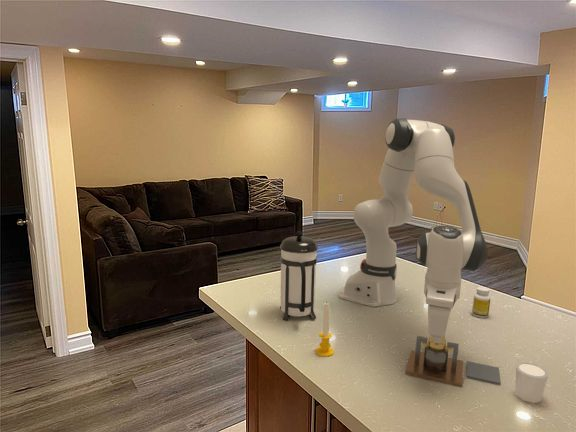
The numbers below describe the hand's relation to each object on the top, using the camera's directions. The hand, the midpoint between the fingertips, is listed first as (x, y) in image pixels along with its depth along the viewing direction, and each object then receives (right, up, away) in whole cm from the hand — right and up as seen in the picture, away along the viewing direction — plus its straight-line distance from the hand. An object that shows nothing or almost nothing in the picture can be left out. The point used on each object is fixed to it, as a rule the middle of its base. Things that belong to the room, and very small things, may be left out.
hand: (437, 337), depth 113 cm
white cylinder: (+19, -12, -9) cm, 24 cm away
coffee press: (-36, -2, +34) cm, 50 cm away
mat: (+12, -10, 0) cm, 15 cm away
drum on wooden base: (0, -9, +2) cm, 9 cm away
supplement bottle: (+28, -3, +37) cm, 47 cm away
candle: (-29, -7, +10) cm, 32 cm away
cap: (0, -3, +1) cm, 3 cm away
